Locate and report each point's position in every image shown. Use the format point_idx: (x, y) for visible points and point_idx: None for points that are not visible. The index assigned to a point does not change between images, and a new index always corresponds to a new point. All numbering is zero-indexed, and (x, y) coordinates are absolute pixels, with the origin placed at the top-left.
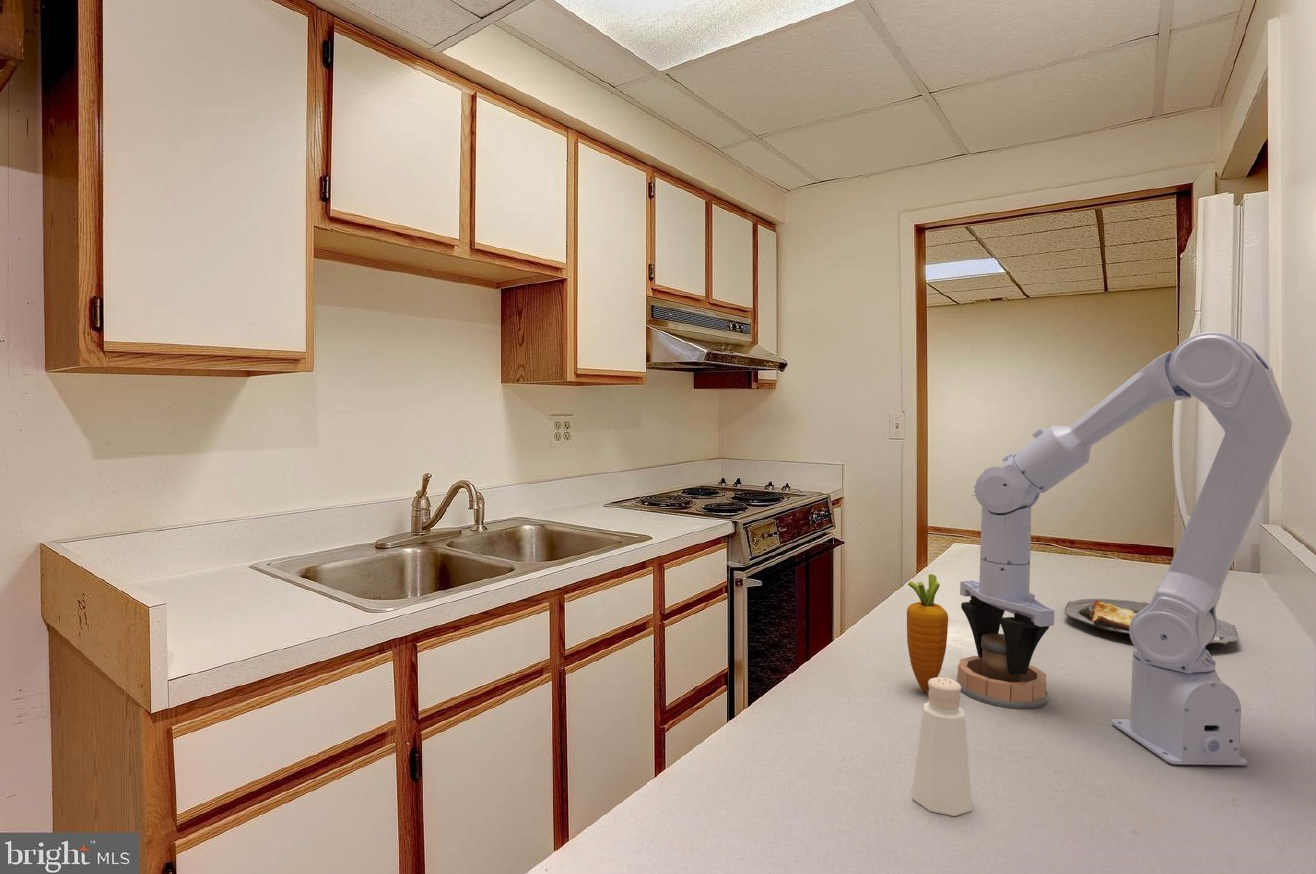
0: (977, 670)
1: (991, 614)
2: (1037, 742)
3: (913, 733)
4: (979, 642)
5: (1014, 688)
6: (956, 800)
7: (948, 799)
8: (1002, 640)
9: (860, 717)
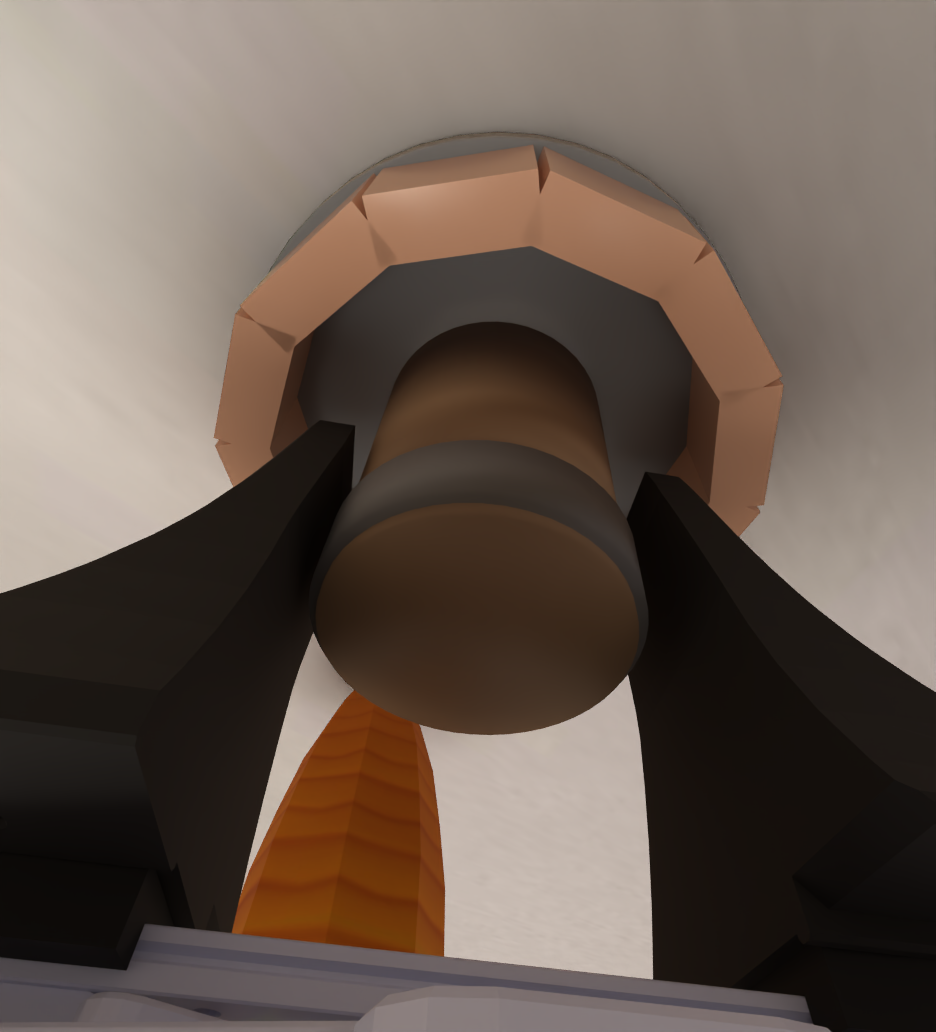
0: (293, 413)
1: (231, 755)
2: (891, 649)
3: (613, 830)
4: None
5: None
6: None
7: None
8: (527, 676)
9: (478, 858)
